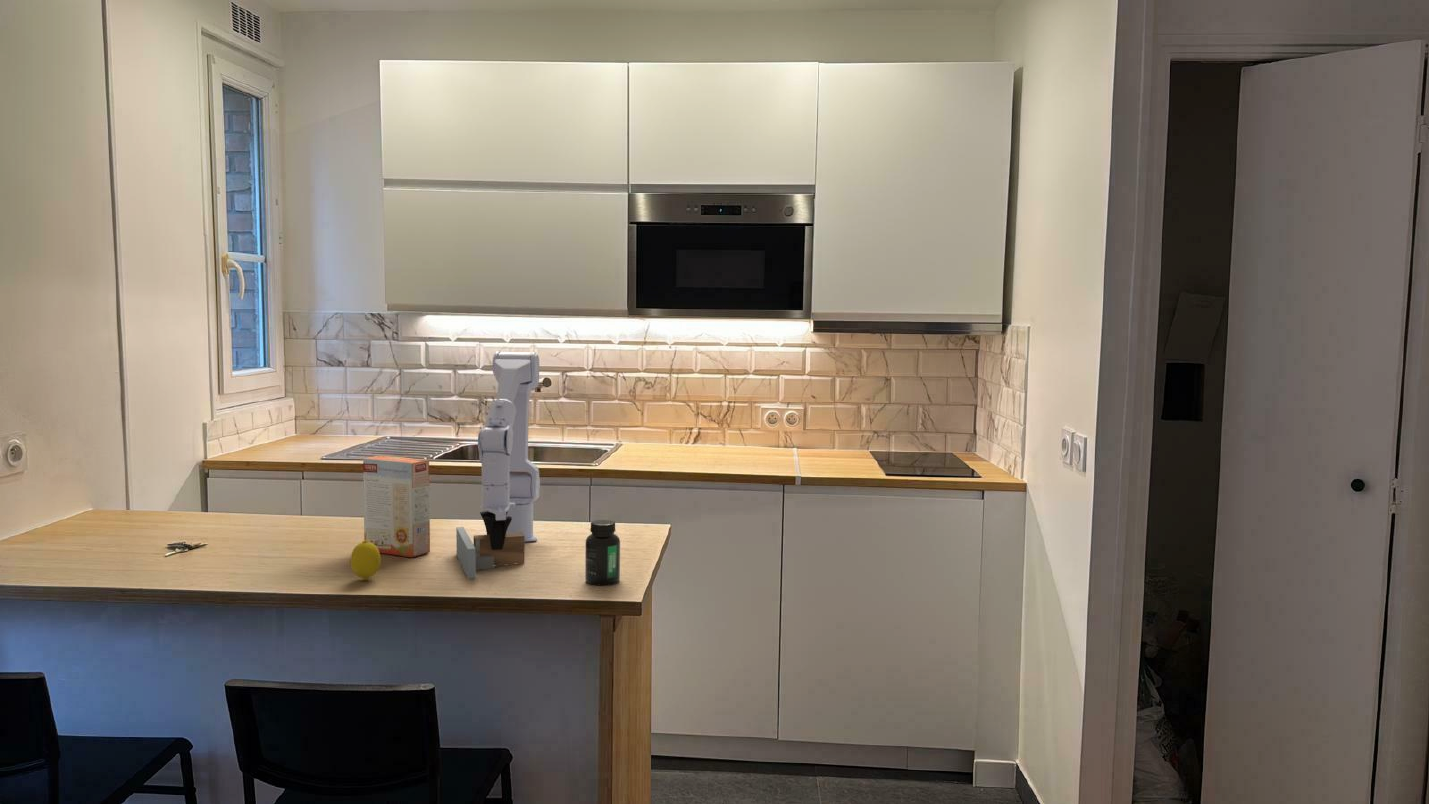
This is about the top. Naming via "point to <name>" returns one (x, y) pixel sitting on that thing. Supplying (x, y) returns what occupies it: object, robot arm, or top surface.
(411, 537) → the cracker box
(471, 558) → the grey plank with pegs
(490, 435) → the robot arm
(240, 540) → the top surface
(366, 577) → the lemon
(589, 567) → the supplement bottle
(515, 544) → the block
